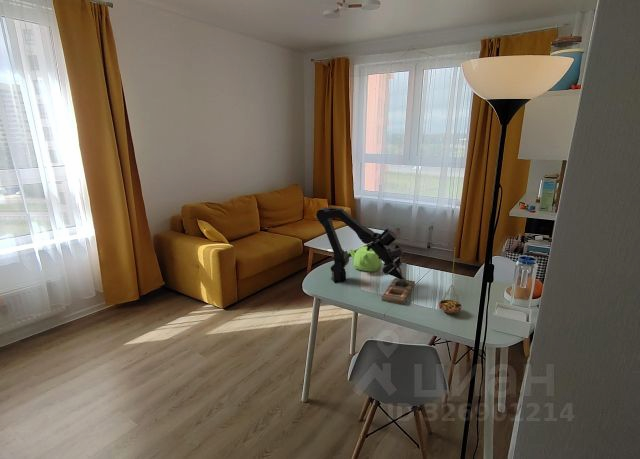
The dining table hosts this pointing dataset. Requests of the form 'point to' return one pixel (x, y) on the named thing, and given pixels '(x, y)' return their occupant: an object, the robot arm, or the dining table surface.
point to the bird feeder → (450, 301)
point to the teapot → (365, 259)
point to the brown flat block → (398, 292)
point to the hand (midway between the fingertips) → (403, 275)
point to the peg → (402, 270)
